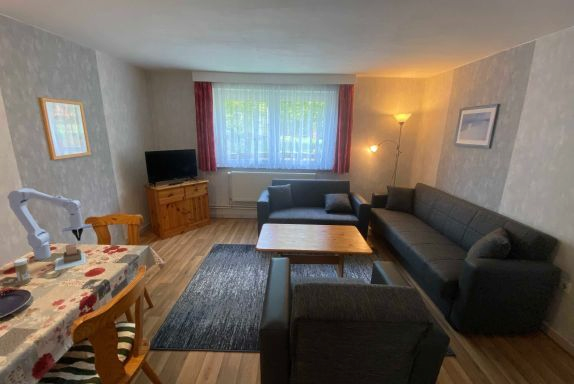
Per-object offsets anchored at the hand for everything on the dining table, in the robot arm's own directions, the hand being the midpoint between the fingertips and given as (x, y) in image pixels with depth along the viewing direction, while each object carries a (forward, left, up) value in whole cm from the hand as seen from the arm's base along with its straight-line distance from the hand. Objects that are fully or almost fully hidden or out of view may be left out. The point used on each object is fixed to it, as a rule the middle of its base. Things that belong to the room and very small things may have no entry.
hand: (79, 240), depth 157 cm
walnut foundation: (+5, -4, -9) cm, 11 cm away
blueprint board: (+8, -5, -10) cm, 14 cm away
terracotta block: (+5, -4, -6) cm, 9 cm away
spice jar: (+22, -23, -11) cm, 34 cm away
